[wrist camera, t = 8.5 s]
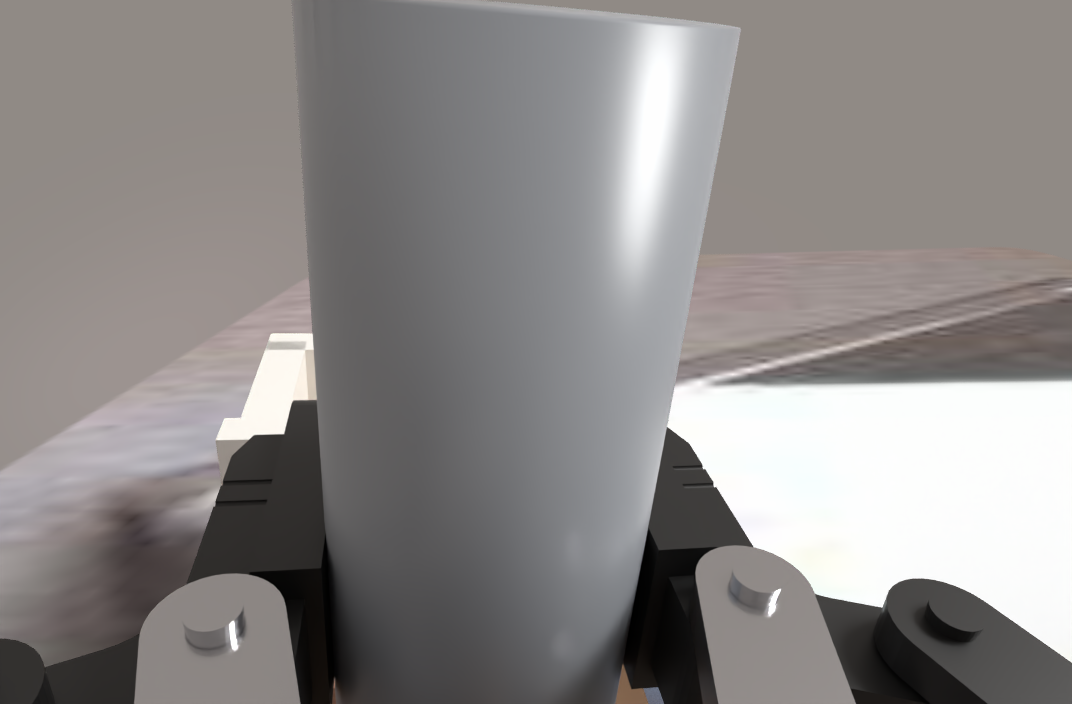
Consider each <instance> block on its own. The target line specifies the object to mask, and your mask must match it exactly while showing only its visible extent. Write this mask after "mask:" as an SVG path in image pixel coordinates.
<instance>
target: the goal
mask: <svg viewBox="0 0 1072 704" xmlns="http://www.w3.org/2000/svg"><path fill="white" fill-rule="evenodd" d="M293 400H317V395H316V379H315V364H314V348H313V334H271V336H270V338H269V341H268V344H267V347H266V349H265V352H264V355H263V358H262V361H261V363H260V366H259V369H258V372H257V374H256V377H255V380H254V383H253V385H252V388H251V391H250V394H249V396H248V399H247V402H246V405H245V408H244V410H243V413H242V416H241V418H224V421H223V423H222V426H221V428H220V431H219V433H218V436H217V438H216V446H217V454H218V461H219V468H220V475H221V482H222V486H223V479H224V476H225V473H226V470H227V467H228V464H229V462H230V459H231V456H232V455H233V454H234V453H235V452H236V451H237V450H239V449H240V448H241V447H242V446H243V445H244V444H245V443H246V442H247V441H248V440H249V439H250V438H251V437H252V436H253V435H268V434H284V432H285V428H286V424H287V420H288V416H289V412H290V408H291V404H292V402H293Z"/></svg>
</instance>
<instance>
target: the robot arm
mask: <svg viewBox="0 0 1072 704" xmlns="http://www.w3.org/2000/svg"><path fill="white" fill-rule="evenodd" d="M623 665H624V668H625V671H626V674H627V677H628V681H629V684H630V687H631V689H640V688H651V687H658V688H659V690H660V693H661V696H662V699H663V701H664V704H1072V663H1071V662H1070V661H1068V660H1067V659H1065V658H1064V657H1063V656H1061V655H1060V654H1058V653H1057V652H1055V651H1054V650H1053V649H1051V648H1050V647H1048V646H1047V645H1046V644H1044V643H1043V642H1041V641H1040V640H1038V639H1037V638H1036V637H1034V636H1033V635H1031V634H1030V633H1028V632H1027V631H1026V630H1024V629H1023V628H1021V627H1020V626H1019V625H1017V624H1016V623H1014V622H1013V621H1011V620H1010V619H1009V618H1007V617H1006V616H1004V615H1003V614H1002V613H1000V612H999V611H997V610H996V609H994V608H993V607H992V606H990V605H989V604H987V603H986V602H984V601H983V600H981V599H980V598H978V597H976V596H975V595H973V594H971V593H969V592H967V591H965V590H963V589H960V588H958V587H956V586H953V585H950V584H947V583H944V582H940V581H936V580H930V579H908V580H904V581H901V582H898V583H897V584H895V585H894V586H893V587H892V588H891V589H890V590H889V592H888V595H887V597H886V600H885V603H884V605H883V608H880V607H875V606H869V605H864V604H859V603H853V602H848V601H843V600H837V599H832V598H828V597H824V596H819V595H817V594H815V593H814V591H813V589H812V587H811V585H810V583H809V582H808V581H807V579H806V578H805V577H804V576H803V575H802V573H801V572H800V571H799V570H797V569H796V568H795V567H794V566H793V565H791V564H790V563H788V562H787V561H785V560H784V559H782V558H780V557H778V556H776V555H774V554H772V553H769V552H767V551H764V550H761V549H757V548H754V547H753V545H752V544H751V542H750V541H749V539H748V537H747V536H746V534H745V533H744V531H743V529H742V528H741V526H740V525H739V523H738V521H737V520H736V518H735V517H734V515H733V513H732V512H731V510H730V509H729V507H728V505H727V504H726V502H725V500H724V499H723V497H722V496H721V494H720V492H719V491H718V489H717V488H716V487H714V486H713V481H712V480H711V478H710V476H709V475H708V473H707V472H706V470H705V469H703V468H702V463H701V462H700V460H699V459H698V457H697V455H696V454H695V452H694V451H693V449H692V447H691V446H690V444H689V443H688V442H686V441H685V440H684V439H682V438H681V437H680V436H678V435H677V434H676V433H674V432H673V431H672V430H670V429H669V428H668V427H667V429H666V434H665V440H664V445H663V450H662V456H661V461H660V466H659V472H658V477H657V483H656V488H655V493H654V499H653V504H652V509H651V515H650V520H649V525H648V531H647V536H646V542H645V547H644V552H643V558H642V563H641V568H640V574H639V579H638V585H637V590H636V595H635V601H634V606H633V611H632V617H631V622H630V627H629V633H628V638H627V644H626V649H625V654H624V660H623ZM334 677H335V676H334V660H333V644H332V628H331V612H330V596H329V580H328V565H327V549H326V533H325V522H324V506H323V490H322V474H321V459H320V443H319V427H318V411H317V400H293V402H292V404H291V408H290V412H289V416H288V420H287V424H286V428H285V432H284V434H268V435H253V436H252V437H251V438H250V439H249V440H248V441H247V442H246V443H245V444H244V445H243V446H242V447H241V448H240V449H239V450H237V451H236V452H235V453H234V454H233V455H232V456H231V459H230V462H229V464H228V467H227V470H226V473H225V476H224V479H223V486H221V487H220V490H219V493H218V496H217V499H216V505H215V507H213V510H212V513H211V516H210V519H209V522H208V524H207V527H206V530H205V533H204V536H203V539H202V542H201V544H200V547H199V550H198V553H197V556H196V559H195V562H194V564H193V567H192V570H191V573H190V576H189V579H188V582H187V584H186V585H185V586H183V587H181V588H179V589H177V590H176V591H174V592H173V593H171V594H169V595H168V596H167V597H166V598H164V599H163V600H162V601H161V602H159V603H158V604H157V606H156V607H155V608H154V609H153V610H152V611H151V612H150V614H149V615H148V617H147V618H146V620H145V621H144V624H143V626H142V628H141V632H140V634H138V635H137V636H135V637H133V638H131V639H129V640H127V641H125V642H122V643H120V644H118V645H115V646H112V647H109V648H107V649H104V650H100V651H97V652H94V653H91V654H87V655H84V656H81V657H78V658H74V659H71V660H68V661H64V662H61V663H58V664H55V665H51V666H48V667H44V664H43V661H42V659H41V657H40V655H39V654H38V653H37V652H36V650H35V649H34V648H32V647H30V646H29V645H27V644H25V643H22V642H19V641H16V640H10V639H0V704H332V699H333V688H334Z"/></svg>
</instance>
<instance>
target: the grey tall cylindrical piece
mask: <svg viewBox="0 0 1072 704" xmlns="http://www.w3.org/2000/svg"><path fill="white" fill-rule="evenodd" d="M292 15H293V31H294V47H295V63H296V77H297V78H296V79H297V93H298V109H299V126H300V139H301V158H302V173H303V188H304V205H305V221H306V236H307V253H308V267H309V268H308V269H309V284H310V300H311V316H312V332H313V348H314V364H315V379H316V395H317V411H318V427H319V443H320V459H321V474H322V490H323V506H324V522H325V533H326V549H327V565H328V580H329V596H330V612H331V628H332V644H333V660H334V676H335V677H334V688H333V699H332V704H615V703H616V697H617V692H618V686H619V681H620V676H621V670H622V665H623V660H624V654H625V649H626V644H627V638H628V633H629V627H630V622H631V617H632V611H633V606H634V601H635V595H636V590H637V585H638V579H639V574H640V568H641V563H642V558H643V552H644V547H645V542H646V536H647V531H648V525H649V520H650V515H651V509H652V504H653V499H654V493H655V488H656V483H657V477H658V472H659V466H660V461H661V456H662V450H663V445H664V440H665V434H666V429H667V424H668V418H669V413H670V407H671V402H672V397H673V391H674V386H675V381H676V375H677V370H678V365H679V359H680V354H681V348H682V343H683V338H684V332H685V327H686V322H687V316H688V311H689V306H690V300H691V295H692V289H693V284H694V279H695V273H696V268H697V263H698V257H699V252H700V246H701V241H702V236H703V230H704V225H705V220H706V214H707V209H708V204H709V198H710V193H711V187H712V182H713V177H714V171H715V166H716V161H717V155H718V150H719V145H720V139H721V134H722V128H723V123H724V117H725V112H726V107H727V101H728V96H729V91H730V85H731V80H732V75H733V69H734V64H735V58H736V53H737V48H738V43H739V37H740V31H741V28H738V27H734V26H728V25H722V24H714V23H706V22H699V21H690V20H681V19H673V18H664V17H654V16H644V15H635V14H625V13H615V12H604V11H594V10H584V9H573V8H562V7H551V6H540V5H529V4H518V3H517V4H516V3H506V2H494V1H482V0H292Z"/></svg>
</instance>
